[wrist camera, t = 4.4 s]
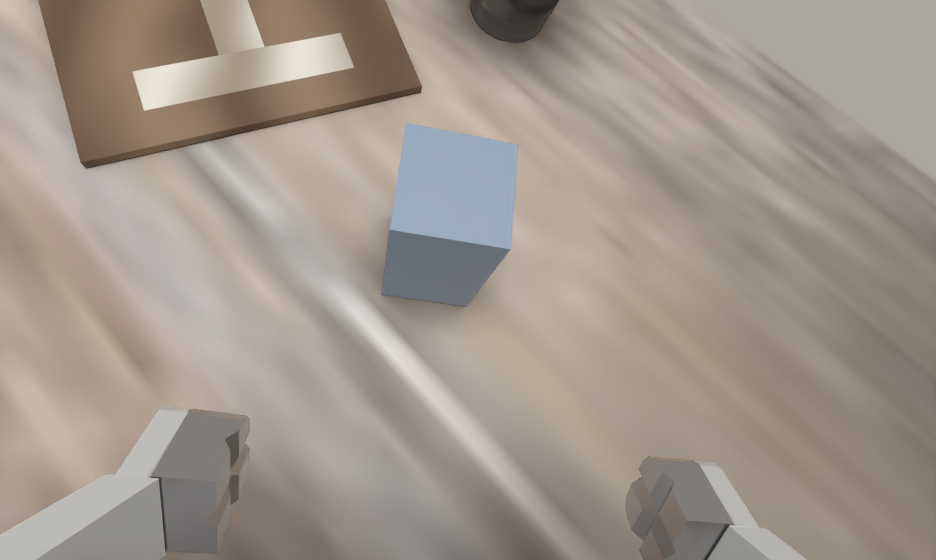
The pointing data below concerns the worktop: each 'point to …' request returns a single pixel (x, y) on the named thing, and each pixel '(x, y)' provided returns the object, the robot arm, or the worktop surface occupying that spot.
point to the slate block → (449, 215)
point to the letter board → (215, 67)
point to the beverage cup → (512, 17)
